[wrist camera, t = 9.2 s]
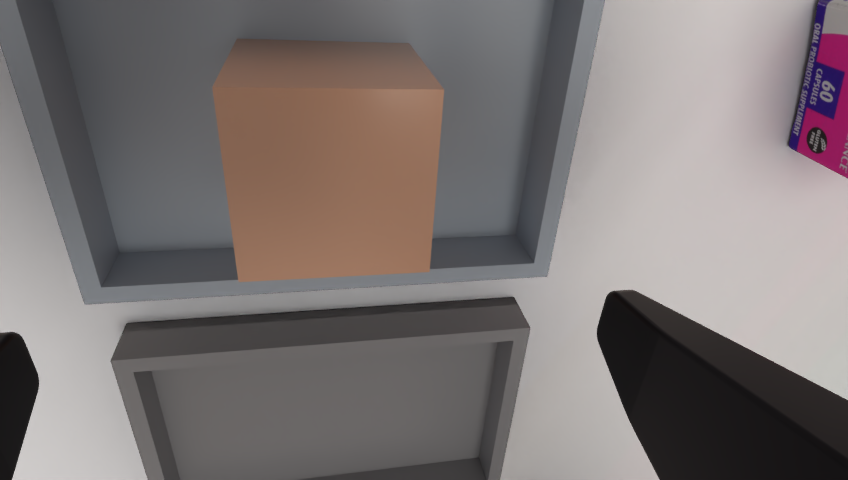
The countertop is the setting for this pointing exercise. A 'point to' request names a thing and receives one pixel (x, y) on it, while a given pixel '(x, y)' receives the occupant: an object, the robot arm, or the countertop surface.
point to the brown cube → (328, 157)
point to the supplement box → (825, 91)
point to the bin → (326, 392)
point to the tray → (200, 147)
